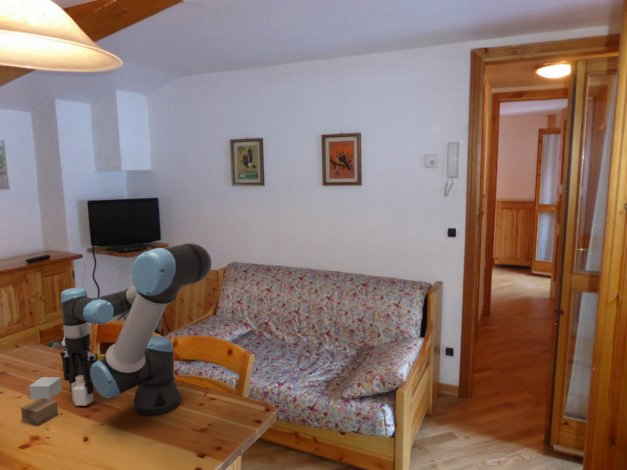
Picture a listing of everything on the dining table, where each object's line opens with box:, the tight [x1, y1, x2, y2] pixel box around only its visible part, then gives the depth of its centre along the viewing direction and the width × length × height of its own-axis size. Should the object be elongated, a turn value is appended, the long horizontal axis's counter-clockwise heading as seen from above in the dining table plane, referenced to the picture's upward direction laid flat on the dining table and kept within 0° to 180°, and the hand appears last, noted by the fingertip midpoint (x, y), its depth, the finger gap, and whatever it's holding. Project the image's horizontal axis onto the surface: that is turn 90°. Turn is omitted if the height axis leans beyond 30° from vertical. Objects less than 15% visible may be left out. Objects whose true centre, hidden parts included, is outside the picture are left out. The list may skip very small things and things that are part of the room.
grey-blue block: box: [28, 376, 63, 400], centre depth 160 cm, size 7×7×5 cm
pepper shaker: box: [74, 375, 87, 407], centre depth 152 cm, size 4×4×10 cm
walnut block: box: [20, 398, 59, 427], centre depth 145 cm, size 7×7×5 cm
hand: (83, 401), depth 153 cm, fingers closed on pepper shaker, 5 cm apart
